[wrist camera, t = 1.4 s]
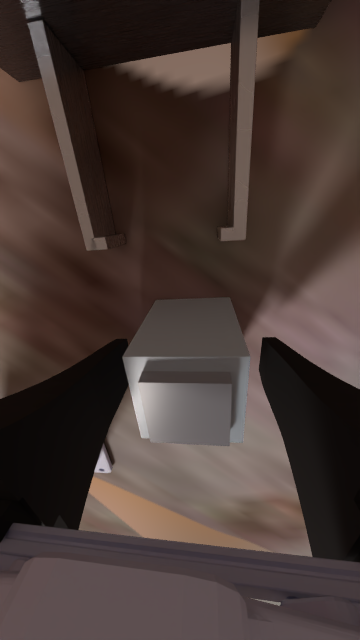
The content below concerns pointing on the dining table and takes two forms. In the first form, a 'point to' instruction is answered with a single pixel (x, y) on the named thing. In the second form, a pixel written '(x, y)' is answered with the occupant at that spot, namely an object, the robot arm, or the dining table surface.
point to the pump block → (189, 372)
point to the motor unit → (129, 45)
